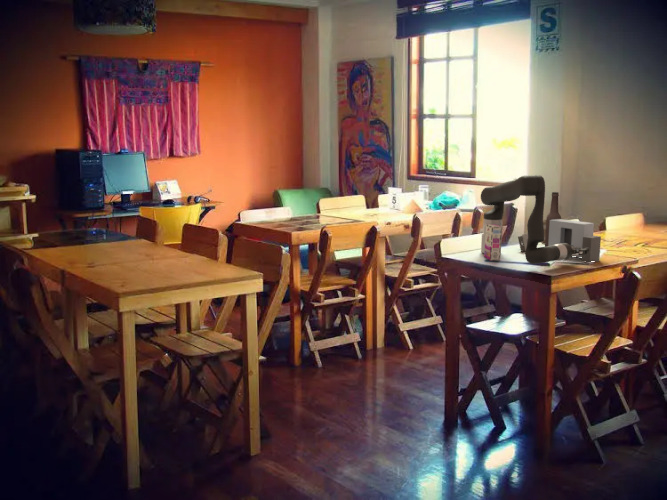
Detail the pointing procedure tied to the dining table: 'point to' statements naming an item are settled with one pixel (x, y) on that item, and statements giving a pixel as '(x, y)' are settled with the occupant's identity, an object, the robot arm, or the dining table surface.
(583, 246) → the plug
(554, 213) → the beer bottle
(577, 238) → the socket
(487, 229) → the candy bar box
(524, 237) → the electrical switch
